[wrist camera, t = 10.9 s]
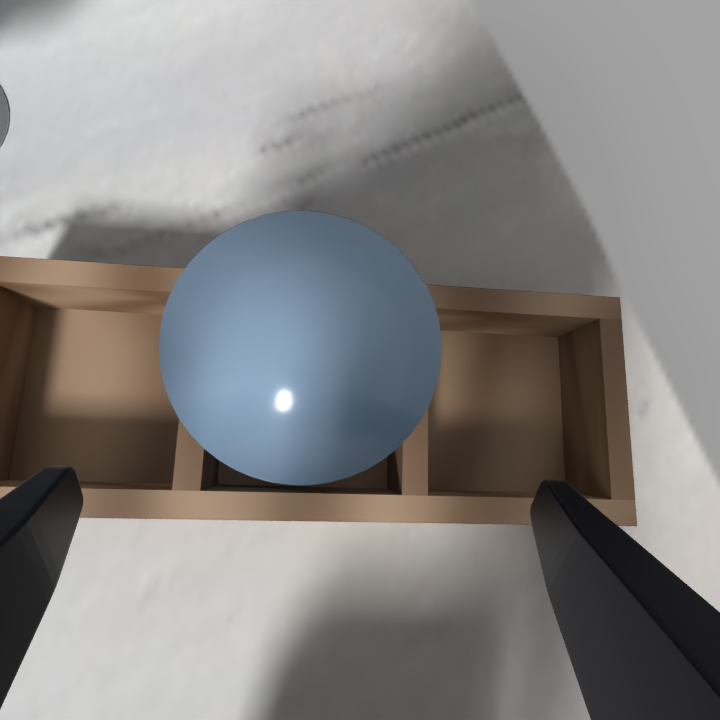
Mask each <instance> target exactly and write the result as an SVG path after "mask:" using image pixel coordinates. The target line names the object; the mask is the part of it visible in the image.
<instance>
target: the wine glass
mask: <svg viewBox="0 0 720 720" xmlns="http://www.w3.org/2000/svg"><path fill="white" fill-rule="evenodd" d="M8 125H9V107H8V102H7V99H6V97H5V94H4V92H3V90H2V88H1V87H0V146H1V144H2V143H3V140H4V138H5V136H6V133H7V130H8Z"/></svg>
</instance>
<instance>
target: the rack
mask: <svg viewBox="0 0 720 720" xmlns="http://www.w3.org/2000/svg"><path fill="white" fill-rule="evenodd" d="M184 269H185V268H171V267H156V266H141V265H126V264H111V263H96V262H81V261H66V260H51V259H36V258H21V257H6V256H0V498H2V497H3V496H4V495H6V494H7V493H9V492H10V491H12V490H13V489H15V488H16V487H17V486H19V485H20V484H22V483H23V482H25V481H26V480H28V479H29V478H30V477H32V476H33V475H35V474H36V473H38V472H39V471H41V470H42V469H44V468H45V467H47V466H70V467H72V468H73V469H74V470H75V472H76V475H77V478H78V481H79V484H80V487H81V490H82V494H83V500H84V501H83V508H82V511H81V514H80V517H79V518H134V519H199V520H264V521H330V522H395V523H461V524H526V525H532V523H531V518H530V508H531V504H532V502H533V500H534V497H535V495H536V492H537V490H538V488H539V485H540V483H541V482H542V481H543V480H546V479H548V480H563V481H565V482H567V483H568V484H569V485H570V486H572V487H573V488H574V489H575V490H576V491H577V492H579V493H580V494H581V495H582V496H583V497H584V498H586V499H587V500H588V501H589V502H590V503H591V504H593V505H594V506H595V507H596V508H597V509H599V510H600V511H601V512H602V513H603V514H604V515H606V516H607V517H608V518H609V519H610V520H611V521H613V522H614V523H615V524H616V525H617V526H637V519H636V505H635V492H634V479H633V466H632V452H631V439H630V426H629V412H628V399H627V386H626V372H625V359H624V346H623V332H622V319H621V306H620V297H605V296H590V295H575V294H560V293H545V292H530V291H515V290H500V289H485V288H470V287H455V286H440V285H426V286H427V288H428V290H429V293H430V295H431V297H432V299H433V302H434V305H435V308H436V312H437V315H438V318H439V324H440V331H441V341H442V356H441V366H440V373H439V377H438V381H437V386H436V389H435V392H434V394H433V397H432V399H431V402H430V405H429V406H428V408H427V410H426V412H425V414H424V416H423V417H422V419H421V421H420V422H419V424H418V425H417V426H416V428H415V429H414V430H413V432H412V433H411V435H410V436H409V437H408V438H407V439H406V440H405V441H404V442H403V443H402V444H401V445H400V446H399V447H398V448H397V449H396V450H395V451H393V452H392V453H391V454H390V455H388V456H387V457H386V458H385V459H383V460H382V461H380V462H378V463H377V464H375V465H373V466H372V467H370V468H368V469H367V470H365V471H362V472H360V473H358V474H355V475H353V476H351V477H348V478H344V479H341V480H337V481H334V482H330V483H322V484H315V485H286V484H279V483H272V482H268V481H264V480H260V479H257V478H253V477H251V476H248V475H246V474H244V473H241V472H239V471H237V470H234V469H233V468H231V467H229V466H228V465H226V464H224V463H223V462H221V461H219V460H218V459H217V458H215V457H214V456H213V455H212V454H210V453H209V452H208V451H207V450H205V449H204V448H203V447H202V446H201V445H200V444H199V443H198V442H197V441H196V440H195V439H194V438H193V437H192V436H191V434H190V433H189V432H188V431H187V429H186V428H185V426H184V425H183V424H182V422H181V421H180V419H179V418H178V416H177V414H176V412H175V410H174V408H173V406H172V404H171V402H170V400H169V398H168V395H167V392H166V389H165V386H164V383H163V378H162V373H161V368H160V360H159V336H160V326H161V322H162V317H163V313H164V309H165V306H166V304H167V301H168V298H169V296H170V293H171V291H172V289H173V287H174V285H175V283H176V282H177V280H178V278H179V276H180V275H181V273H182V272H183V271H184Z"/></svg>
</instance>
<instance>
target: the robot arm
mask: <svg viewBox="0 0 720 720" xmlns="http://www.w3.org/2000/svg"><path fill="white" fill-rule="evenodd" d="M83 501H84V500H83V494H82V490H81V487H80V484H79V481H78V478H77V475H76V472H75V470H74V469H73V468H72V467H70V466H47V467H45V468H44V469H42V470H41V471H39V472H38V473H36V474H35V475H33V476H32V477H30V478H29V479H28V480H26V481H25V482H23V483H22V484H20V485H19V486H17V487H16V488H15V489H13V490H12V491H10V492H9V493H7V494H6V495H4V496H3V497H2V498H0V709H1V707H2V704H3V702H4V700H5V698H6V696H7V693H8V691H9V689H10V687H11V685H12V683H13V680H14V678H15V676H16V674H17V672H18V669H19V667H20V665H21V663H22V661H23V659H24V656H25V654H26V652H27V650H28V648H29V646H30V643H31V641H32V639H33V637H34V635H35V632H36V630H37V628H38V626H39V624H40V622H41V619H42V617H43V615H44V613H45V611H46V608H47V606H48V604H49V602H50V600H51V597H52V595H53V593H54V590H55V588H56V585H57V582H58V580H59V577H60V574H61V571H62V568H63V565H64V562H65V559H66V556H67V553H68V550H69V547H70V544H71V541H72V538H73V535H74V532H75V529H76V526H77V523H78V520H79V517H80V514H81V511H82V508H83ZM530 518H531V523H532V527H533V531H534V536H535V540H536V545H537V549H538V553H539V558H540V562H541V567H542V571H543V575H544V580H545V584H546V587H547V591H548V594H549V598H550V601H551V604H552V607H553V610H554V613H555V616H556V619H557V621H558V624H559V627H560V630H561V633H562V636H563V639H564V642H565V645H566V648H567V651H568V654H569V657H570V660H571V662H572V665H573V668H574V671H575V674H576V677H577V680H578V683H579V686H580V689H581V692H582V695H583V698H584V701H585V704H586V706H587V709H588V712H589V715H590V718H591V720H720V612H719V611H717V610H716V609H715V608H714V607H713V606H711V605H710V604H709V603H708V602H707V601H706V600H704V599H703V598H702V597H701V596H700V595H699V594H697V593H696V592H695V591H694V590H693V589H691V588H690V587H689V586H688V585H687V584H686V583H684V582H683V581H682V580H681V579H680V578H679V577H677V576H676V575H675V574H674V573H673V572H671V571H670V570H669V569H668V568H667V567H666V566H664V565H663V564H662V563H661V562H660V561H659V560H657V559H656V558H655V557H654V556H653V555H651V554H650V553H649V552H648V551H647V550H646V549H644V548H643V547H642V546H641V545H640V544H639V543H637V542H636V541H635V540H634V539H633V538H631V537H630V536H629V535H628V534H627V533H626V532H624V531H623V530H622V529H621V528H620V527H619V526H617V525H616V524H615V523H614V522H613V521H611V520H610V519H609V518H608V517H607V516H606V515H604V514H603V513H602V512H601V511H600V510H599V509H597V508H596V507H595V506H594V505H593V504H591V503H590V502H589V501H588V500H587V499H586V498H584V497H583V496H582V495H581V494H580V493H579V492H577V491H576V490H575V489H574V488H573V487H572V486H570V485H569V484H568V483H567V482H565V481H563V480H548V479H546V480H543V481H542V482H541V483H540V485H539V488H538V490H537V492H536V495H535V497H534V500H533V502H532V504H531V508H530Z"/></svg>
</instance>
